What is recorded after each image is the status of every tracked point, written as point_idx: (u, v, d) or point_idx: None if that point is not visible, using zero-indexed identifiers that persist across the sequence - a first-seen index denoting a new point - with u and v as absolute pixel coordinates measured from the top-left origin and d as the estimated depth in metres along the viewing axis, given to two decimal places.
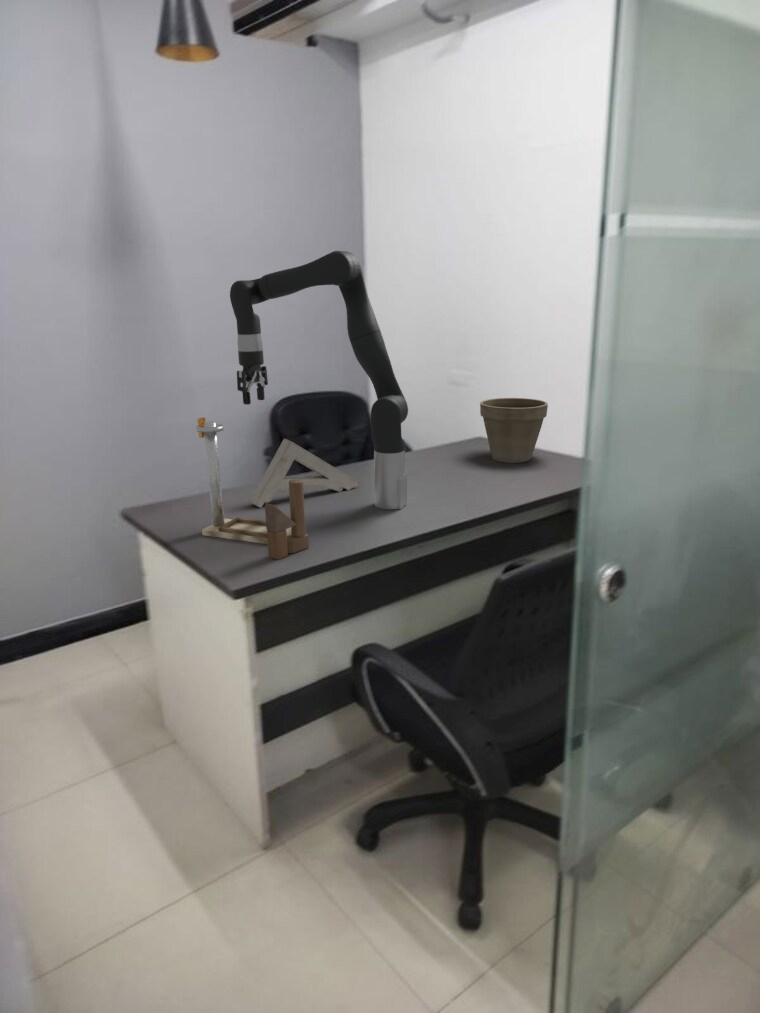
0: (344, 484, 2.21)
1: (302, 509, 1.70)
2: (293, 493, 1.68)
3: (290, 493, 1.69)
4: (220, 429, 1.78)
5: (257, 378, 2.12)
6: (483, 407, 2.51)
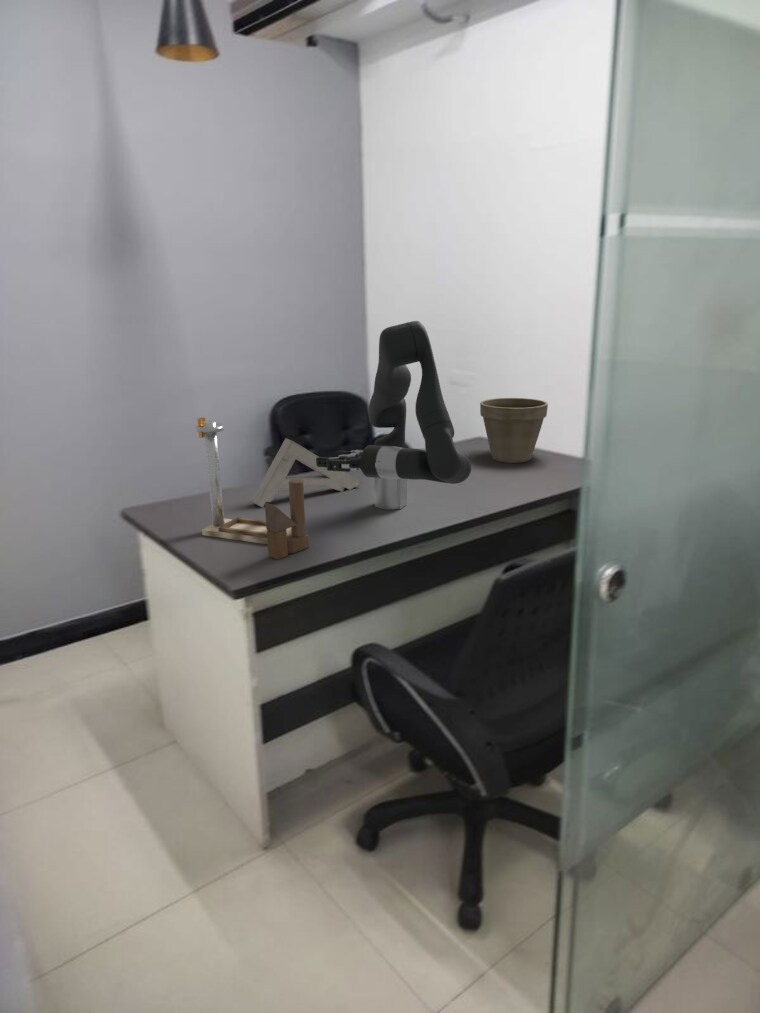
0: (346, 483, 2.22)
1: (302, 509, 1.70)
2: (293, 493, 1.68)
3: (290, 493, 1.69)
4: (220, 429, 1.78)
5: None
6: (483, 407, 2.51)
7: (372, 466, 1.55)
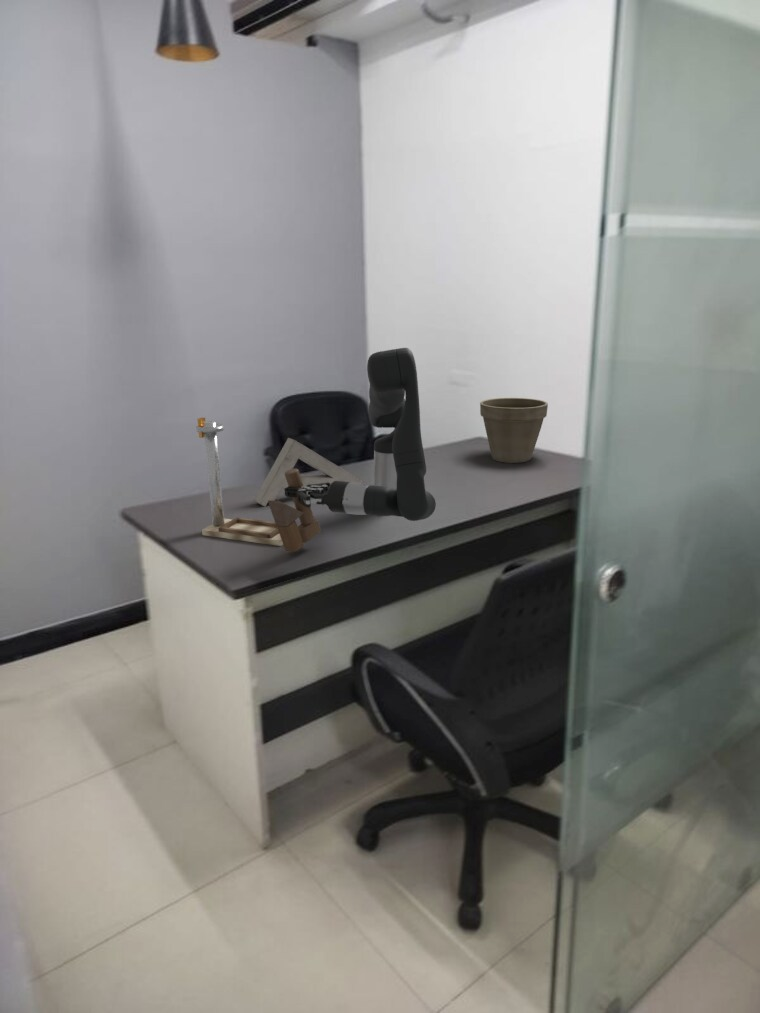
0: None
1: None
2: (292, 483, 1.67)
3: (289, 484, 1.68)
4: (220, 429, 1.78)
5: None
6: (483, 407, 2.51)
7: (339, 503, 1.59)
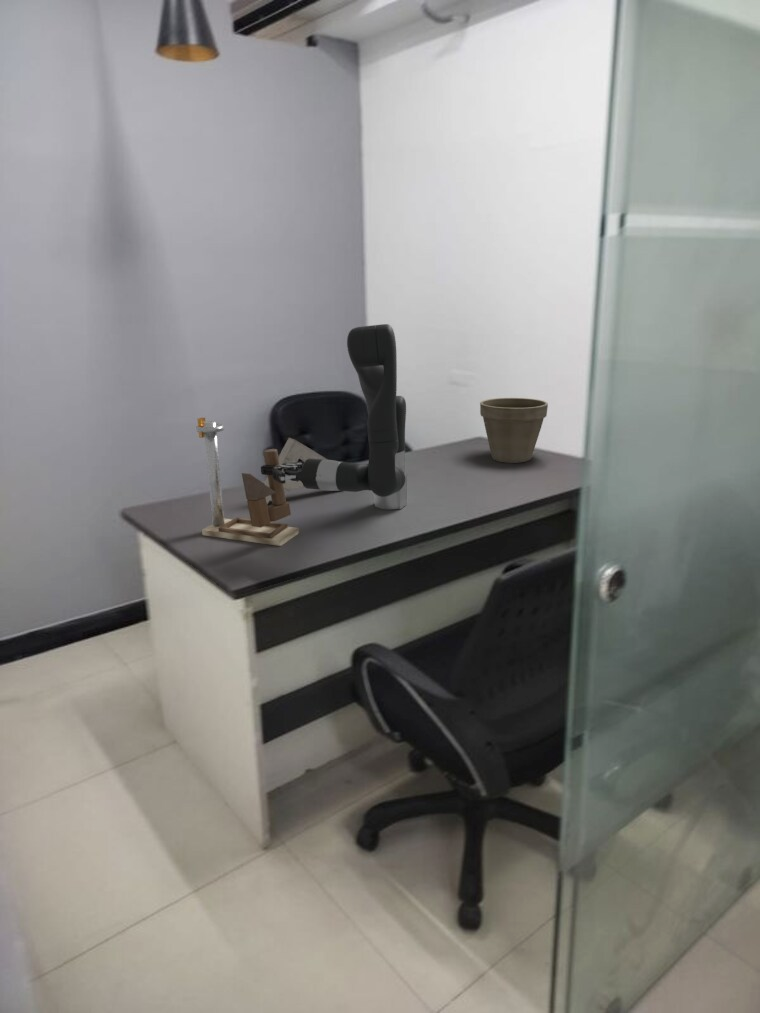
0: None
1: None
2: (269, 462, 1.74)
3: (266, 462, 1.74)
4: (220, 429, 1.78)
5: None
6: (483, 407, 2.51)
7: (313, 479, 1.65)
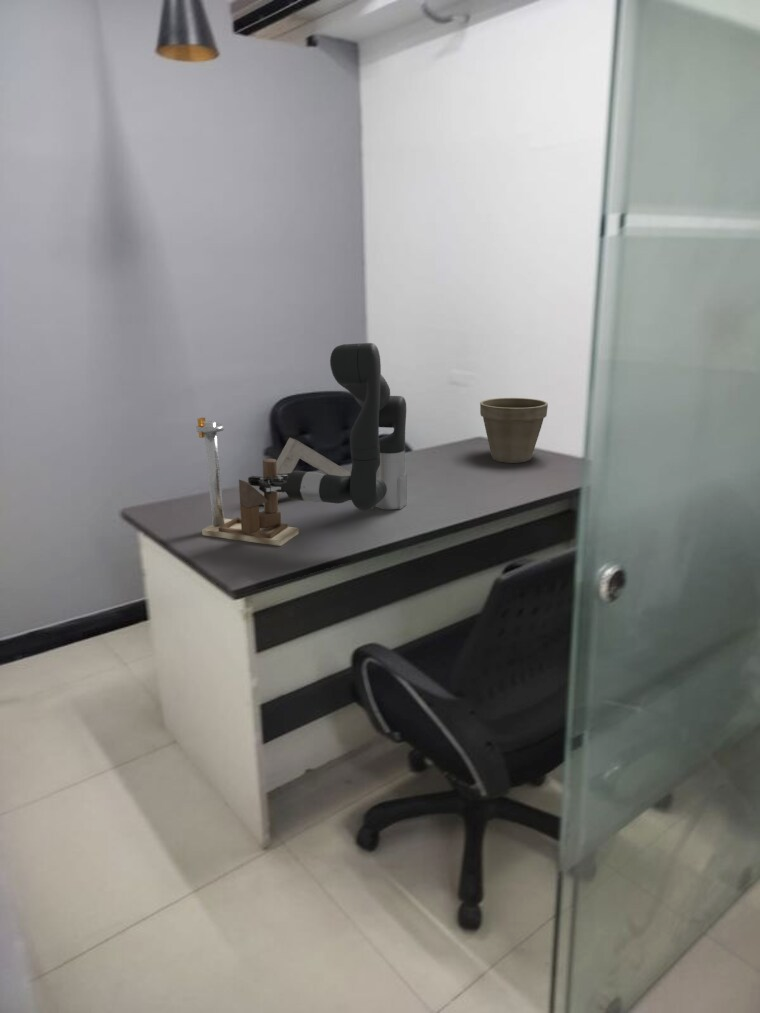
0: None
1: None
2: (266, 471, 1.78)
3: (264, 471, 1.79)
4: (220, 429, 1.78)
5: None
6: (483, 407, 2.51)
7: (297, 491, 1.71)
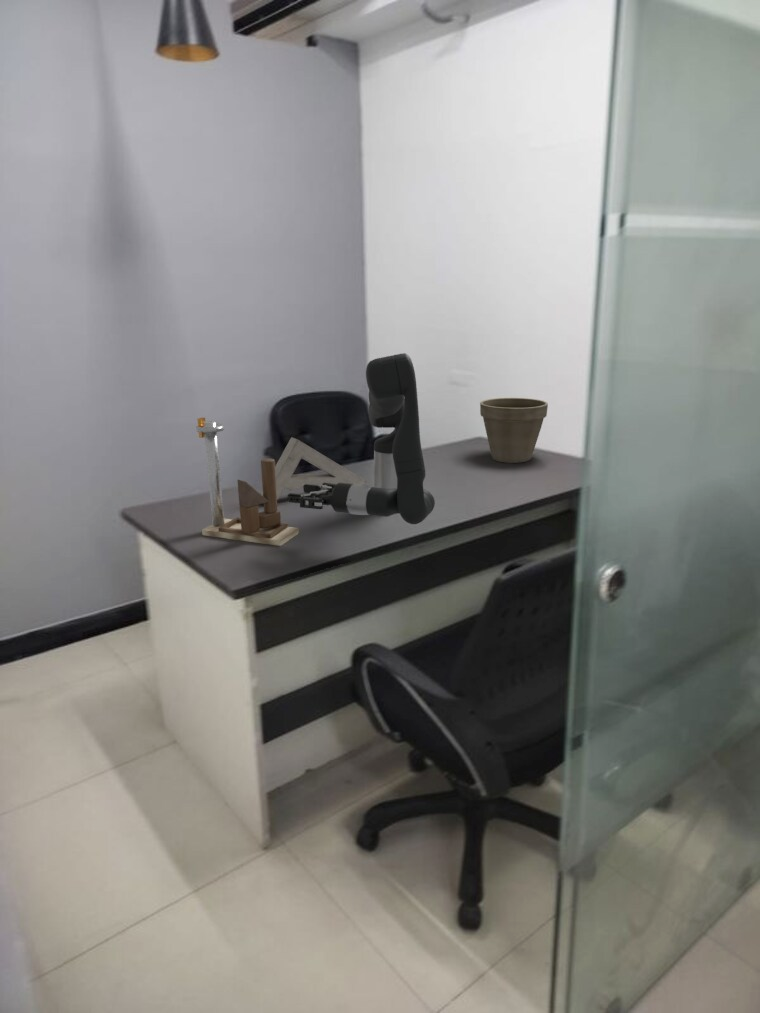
0: (351, 482, 2.23)
1: (273, 486, 1.80)
2: (265, 471, 1.78)
3: (262, 471, 1.79)
4: (220, 429, 1.78)
5: None
6: (483, 407, 2.51)
7: (343, 504, 1.67)
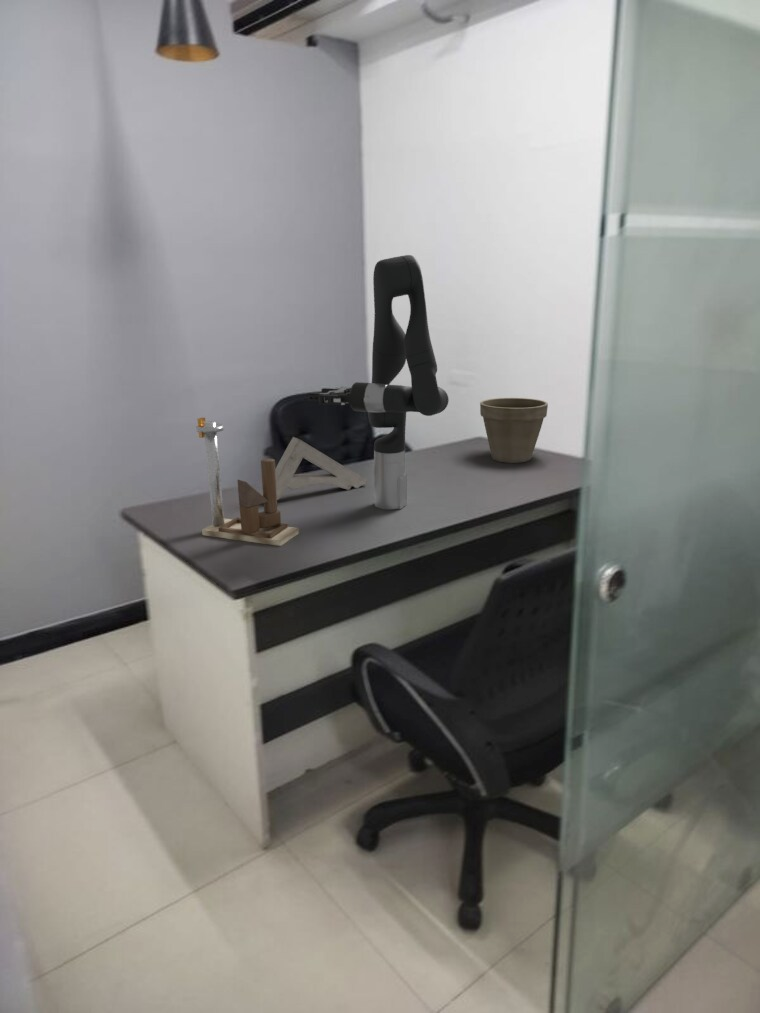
0: (353, 482, 2.23)
1: (273, 486, 1.80)
2: (265, 471, 1.78)
3: (262, 471, 1.79)
4: (220, 429, 1.78)
5: None
6: (483, 407, 2.51)
7: (361, 400, 1.75)
